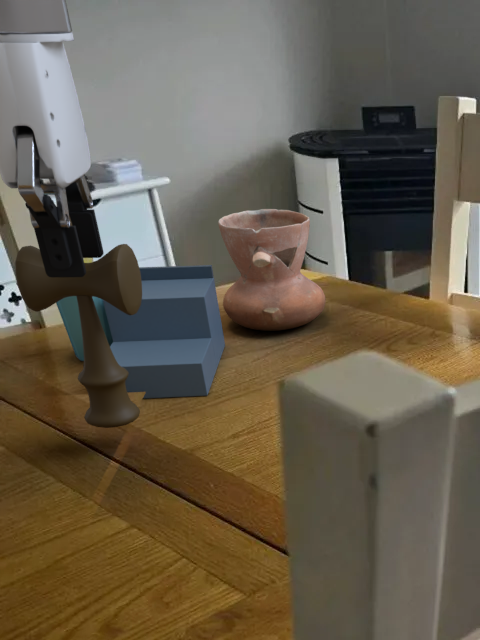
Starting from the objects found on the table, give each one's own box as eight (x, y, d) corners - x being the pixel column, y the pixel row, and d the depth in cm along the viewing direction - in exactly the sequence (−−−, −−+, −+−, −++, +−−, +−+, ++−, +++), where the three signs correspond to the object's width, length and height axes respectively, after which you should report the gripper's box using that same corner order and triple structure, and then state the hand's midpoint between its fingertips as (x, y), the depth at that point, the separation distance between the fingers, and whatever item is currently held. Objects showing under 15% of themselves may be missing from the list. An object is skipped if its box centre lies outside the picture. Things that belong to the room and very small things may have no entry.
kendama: (155, 434, 80) (108, 210, 68) (54, 434, 80) (-11, 208, 68) (170, 409, 85) (129, 196, 73) (75, 409, 84) (18, 194, 73)
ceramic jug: (324, 340, 114) (313, 230, 105) (218, 343, 113) (198, 232, 105) (330, 302, 128) (321, 202, 120) (236, 305, 128) (221, 204, 119)
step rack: (104, 400, 97) (79, 310, 91) (135, 349, 112) (116, 267, 105) (207, 395, 98) (190, 305, 92) (225, 345, 113) (211, 264, 106)
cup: (123, 372, 104) (93, 246, 96) (58, 378, 103) (21, 251, 94) (130, 337, 115) (103, 222, 107) (71, 342, 114) (39, 225, 105)
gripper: (2, 14, 69) (59, 243, 80) (-82, 20, 55) (0, 295, 66) (95, 16, 70) (139, 242, 81) (34, 21, 56) (97, 294, 67)
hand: (76, 264), depth 73 cm, fingers closed on kendama, 5 cm apart
